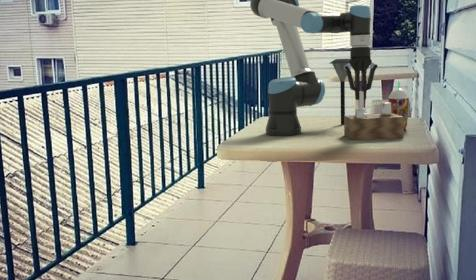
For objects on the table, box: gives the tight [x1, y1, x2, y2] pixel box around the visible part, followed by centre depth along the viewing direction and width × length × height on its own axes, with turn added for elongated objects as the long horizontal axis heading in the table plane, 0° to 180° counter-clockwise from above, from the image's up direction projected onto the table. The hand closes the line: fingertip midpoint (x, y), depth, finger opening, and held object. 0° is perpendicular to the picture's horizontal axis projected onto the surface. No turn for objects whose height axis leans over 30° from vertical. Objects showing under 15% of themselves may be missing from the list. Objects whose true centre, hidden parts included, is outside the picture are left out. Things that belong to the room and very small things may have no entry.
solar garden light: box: [328, 58, 352, 126], centre depth 242 cm, size 12×12×30 cm
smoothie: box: [387, 81, 410, 131], centre depth 221 cm, size 8×8×20 cm
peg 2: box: [380, 101, 391, 117], centre depth 207 cm, size 4×4×8 cm
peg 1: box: [354, 107, 367, 118], centre depth 207 cm, size 4×4×8 cm
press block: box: [343, 113, 405, 141], centre depth 207 cm, size 20×12×8 cm, turn 93°
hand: (360, 108), depth 206 cm, fingers closed
